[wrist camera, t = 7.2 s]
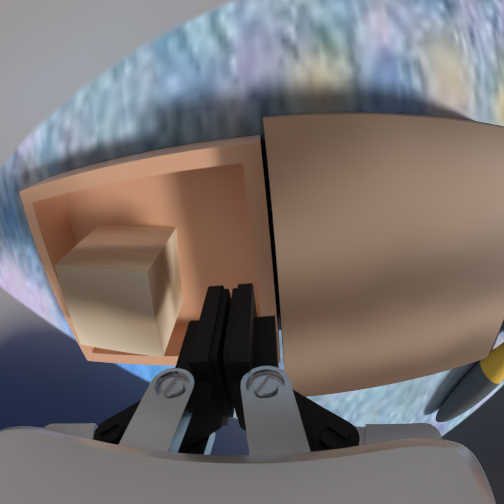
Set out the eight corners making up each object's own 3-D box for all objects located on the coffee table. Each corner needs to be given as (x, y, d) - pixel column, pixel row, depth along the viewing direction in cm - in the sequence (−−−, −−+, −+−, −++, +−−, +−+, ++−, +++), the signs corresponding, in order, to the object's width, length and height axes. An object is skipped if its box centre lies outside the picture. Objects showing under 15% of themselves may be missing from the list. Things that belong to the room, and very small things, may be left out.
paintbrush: (453, 410, 27) (466, 441, 23) (426, 413, 27) (438, 446, 22) (548, 273, 19) (576, 299, 14) (527, 263, 18) (560, 292, 14)
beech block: (147, 271, 12) (176, 227, 17) (54, 265, 12) (98, 225, 17) (163, 357, 14) (183, 301, 19) (80, 344, 14) (112, 295, 19)
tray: (57, 173, 16) (19, 191, 13) (260, 134, 15) (260, 142, 12) (107, 325, 22) (87, 360, 18) (277, 319, 21) (280, 361, 17)
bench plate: (262, 116, 15) (263, 118, 10) (475, 121, 14) (540, 135, 9) (281, 330, 21) (285, 398, 16) (451, 307, 20) (486, 357, 15)
